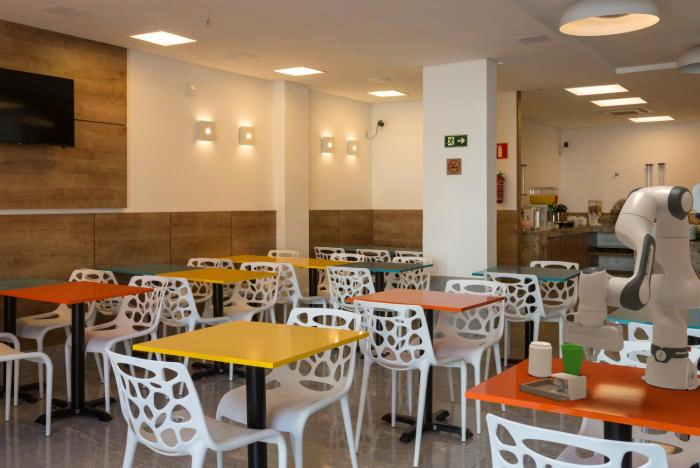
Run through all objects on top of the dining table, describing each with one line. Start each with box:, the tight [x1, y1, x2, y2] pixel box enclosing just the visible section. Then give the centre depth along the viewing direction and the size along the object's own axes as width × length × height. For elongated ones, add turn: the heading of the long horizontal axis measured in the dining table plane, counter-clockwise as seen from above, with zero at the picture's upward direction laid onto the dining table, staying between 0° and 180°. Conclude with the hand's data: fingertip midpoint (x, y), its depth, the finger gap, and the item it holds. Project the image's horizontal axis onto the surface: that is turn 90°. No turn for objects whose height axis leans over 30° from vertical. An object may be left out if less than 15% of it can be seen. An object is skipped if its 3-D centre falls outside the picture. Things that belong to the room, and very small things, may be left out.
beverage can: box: [528, 340, 553, 379], centre depth 251 cm, size 8×8×12 cm
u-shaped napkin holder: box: [549, 372, 587, 401], centre depth 225 cm, size 7×7×10 cm
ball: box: [553, 378, 568, 391], centre depth 227 cm, size 4×4×4 cm
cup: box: [560, 343, 585, 376], centre depth 252 cm, size 9×9×11 cm
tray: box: [518, 377, 590, 402], centre depth 228 cm, size 16×16×2 cm
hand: (591, 360), depth 218 cm, fingers closed
